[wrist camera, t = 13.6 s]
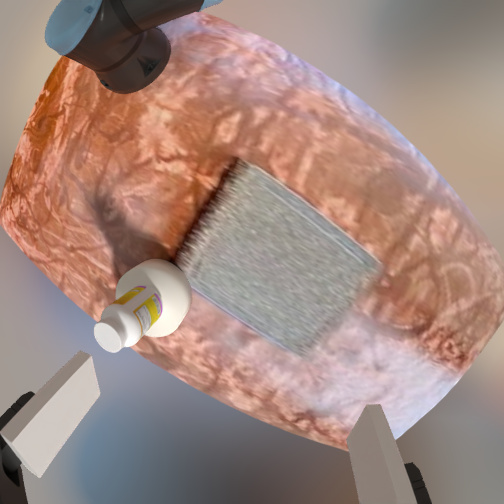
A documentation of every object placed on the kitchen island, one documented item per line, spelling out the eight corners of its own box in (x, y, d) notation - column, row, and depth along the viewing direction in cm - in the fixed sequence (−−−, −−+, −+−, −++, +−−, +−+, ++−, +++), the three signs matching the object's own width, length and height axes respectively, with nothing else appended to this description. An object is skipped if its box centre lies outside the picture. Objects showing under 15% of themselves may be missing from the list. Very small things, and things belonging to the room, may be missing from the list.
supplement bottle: (126, 303, 44) (83, 336, 32) (140, 275, 42) (94, 304, 30) (155, 326, 44) (118, 367, 32) (171, 300, 43) (133, 338, 30)
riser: (124, 260, 49) (108, 269, 43) (186, 255, 47) (174, 265, 42) (138, 321, 52) (126, 335, 46) (197, 322, 50) (189, 337, 44)
